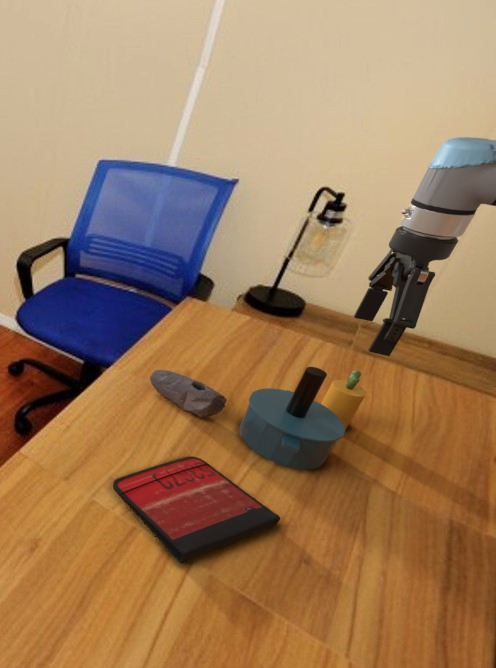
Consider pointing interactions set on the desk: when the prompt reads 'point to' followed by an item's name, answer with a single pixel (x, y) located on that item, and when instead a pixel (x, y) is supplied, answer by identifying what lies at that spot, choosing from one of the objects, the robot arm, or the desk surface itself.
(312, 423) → the pot lid
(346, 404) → the yellow cylinder green stem
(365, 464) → the desk surface
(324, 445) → the pot
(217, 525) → the binder
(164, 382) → the perforated stone tool
